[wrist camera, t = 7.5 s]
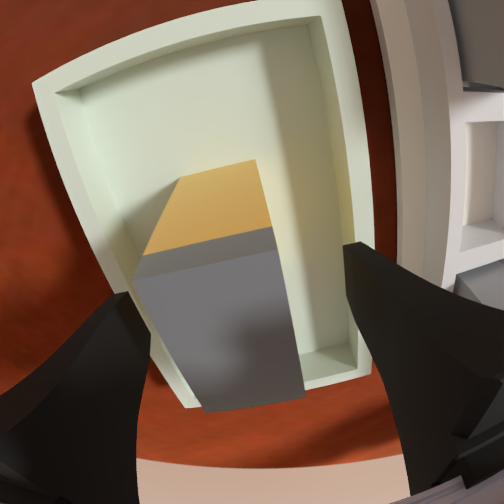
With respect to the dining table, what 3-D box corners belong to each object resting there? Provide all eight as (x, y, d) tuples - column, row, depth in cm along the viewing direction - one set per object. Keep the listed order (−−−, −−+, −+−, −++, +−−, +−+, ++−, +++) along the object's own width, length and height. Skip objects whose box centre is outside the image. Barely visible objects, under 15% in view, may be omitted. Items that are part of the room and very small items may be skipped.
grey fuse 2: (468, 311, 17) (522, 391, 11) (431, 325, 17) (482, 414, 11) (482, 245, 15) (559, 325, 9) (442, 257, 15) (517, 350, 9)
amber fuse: (278, 266, 15) (306, 397, 9) (214, 280, 15) (205, 412, 9) (255, 158, 12) (277, 249, 6) (180, 177, 12) (131, 280, 6)
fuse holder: (484, 317, 18) (502, 341, 16) (390, 351, 19) (403, 381, 17) (486, -40, 7) (518, -47, 5) (348, -67, 8) (371, -89, 5)
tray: (358, 342, 18) (370, 373, 16) (188, 375, 19) (185, 408, 17) (319, 6, 10) (338, -8, 7) (63, 79, 10) (31, 83, 8)
